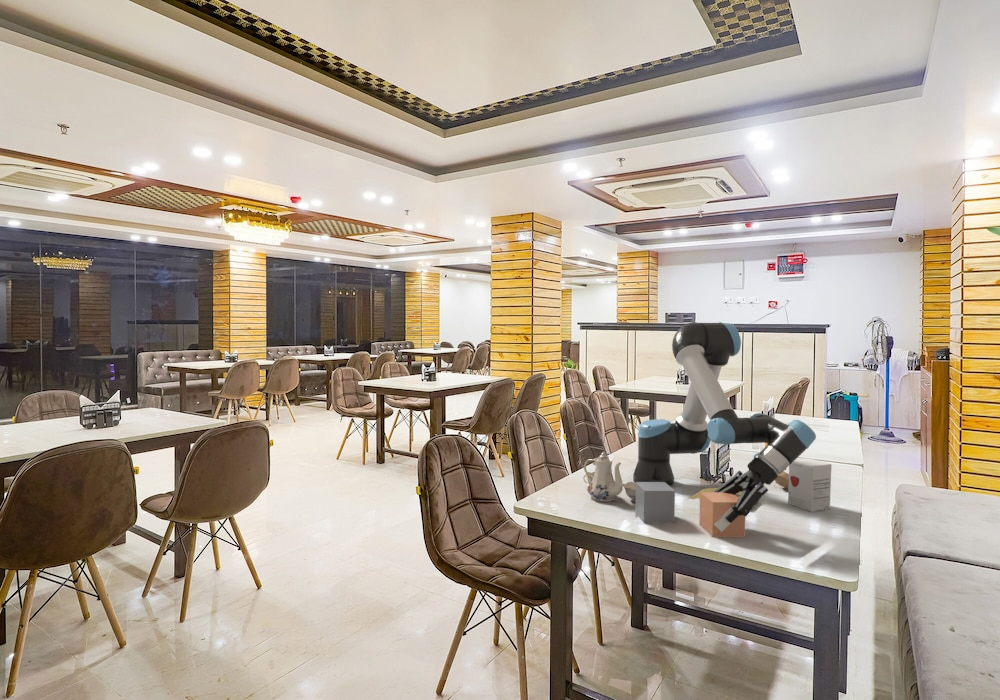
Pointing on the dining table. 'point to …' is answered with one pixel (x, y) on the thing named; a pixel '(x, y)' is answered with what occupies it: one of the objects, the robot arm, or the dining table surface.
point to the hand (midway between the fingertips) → (710, 521)
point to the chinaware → (607, 480)
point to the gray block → (655, 502)
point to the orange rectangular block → (719, 514)
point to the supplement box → (809, 484)
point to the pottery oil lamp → (783, 479)
